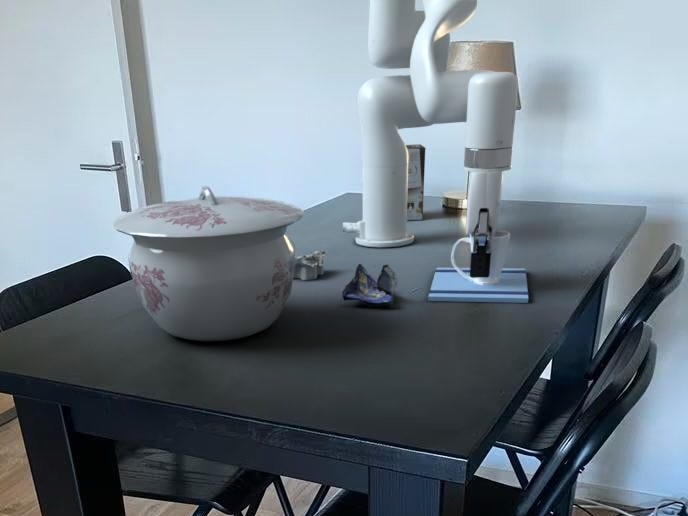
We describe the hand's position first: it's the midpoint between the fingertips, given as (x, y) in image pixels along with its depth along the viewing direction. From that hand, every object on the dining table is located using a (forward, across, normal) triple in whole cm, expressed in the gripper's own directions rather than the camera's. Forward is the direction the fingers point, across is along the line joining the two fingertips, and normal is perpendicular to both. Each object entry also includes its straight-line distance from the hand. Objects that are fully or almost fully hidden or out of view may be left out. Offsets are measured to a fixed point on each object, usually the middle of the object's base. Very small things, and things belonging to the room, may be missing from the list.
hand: (480, 270), depth 137 cm
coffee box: (+3, -65, -19) cm, 68 cm away
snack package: (+3, +10, -17) cm, 20 cm away
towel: (+3, 0, 0) cm, 3 cm away
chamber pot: (+3, +27, -38) cm, 47 cm away
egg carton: (+3, -6, -34) cm, 35 cm away
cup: (+2, 0, 0) cm, 2 cm away
